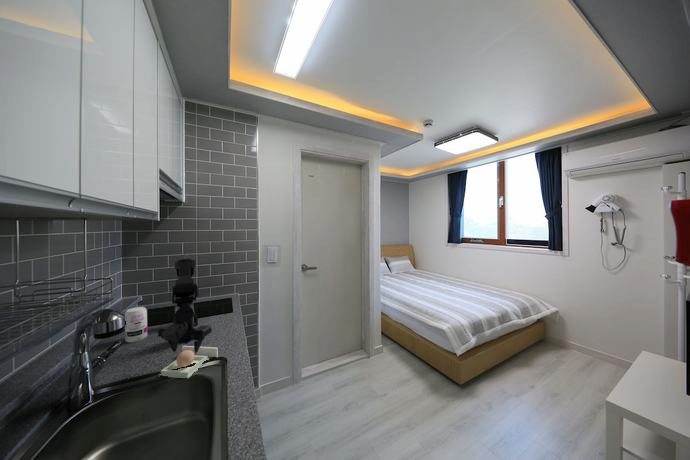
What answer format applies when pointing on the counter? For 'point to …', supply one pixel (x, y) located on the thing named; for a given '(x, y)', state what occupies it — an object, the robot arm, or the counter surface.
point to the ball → (185, 358)
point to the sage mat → (183, 371)
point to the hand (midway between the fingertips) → (185, 352)
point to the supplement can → (136, 324)
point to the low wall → (203, 351)
